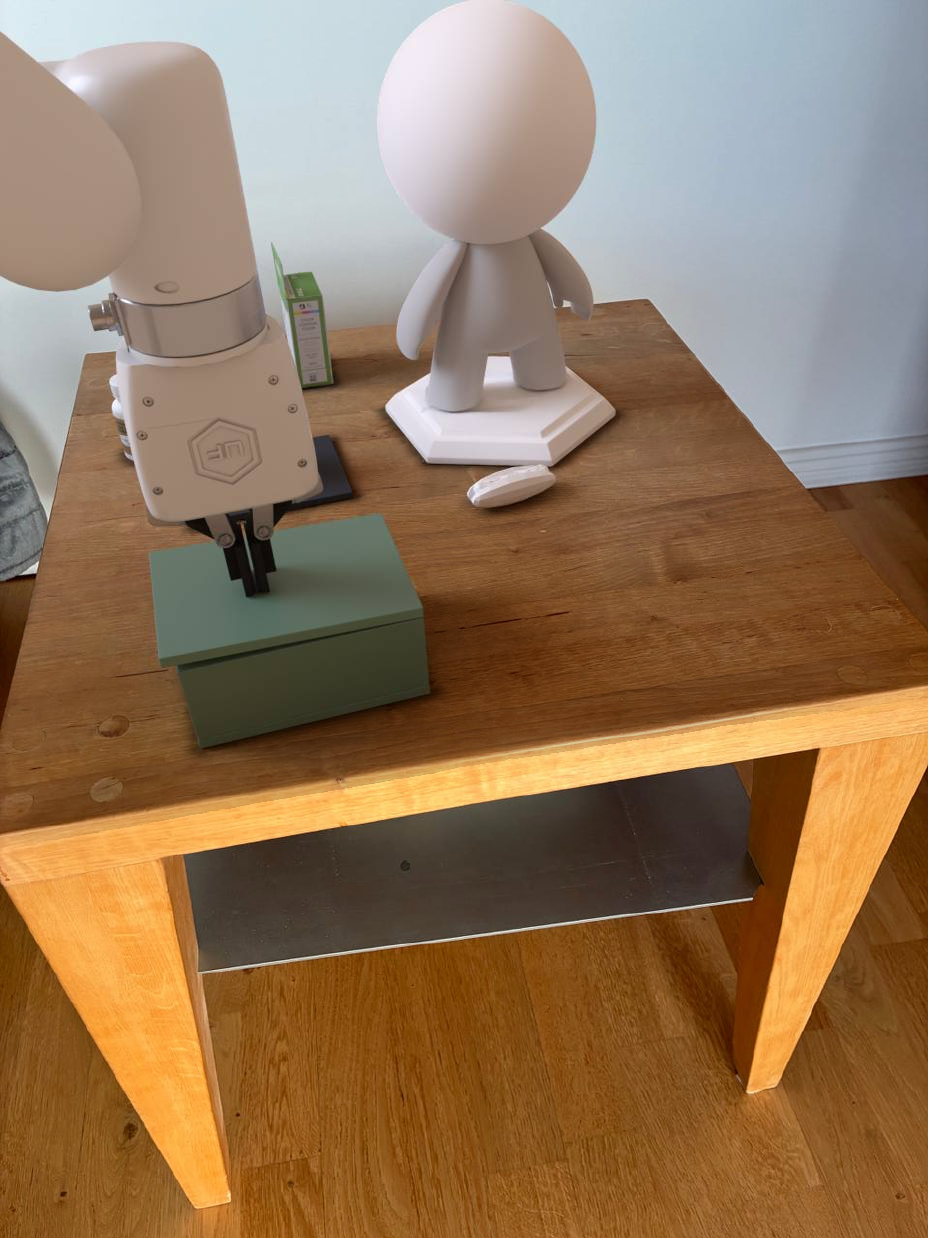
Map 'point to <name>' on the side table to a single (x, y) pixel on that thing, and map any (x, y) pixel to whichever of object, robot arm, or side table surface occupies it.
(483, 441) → the white toy figurine
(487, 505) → the white oval capsule
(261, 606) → the lid
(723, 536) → the side table surface
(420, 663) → the storage box
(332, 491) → the mat
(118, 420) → the pill bottle
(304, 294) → the ink box
